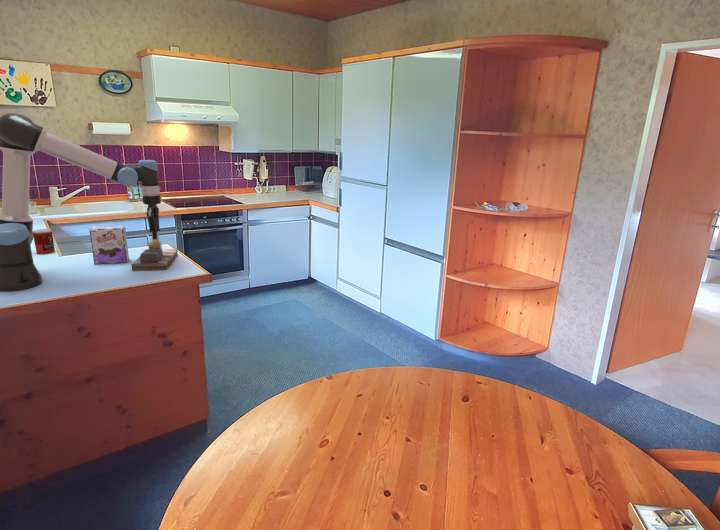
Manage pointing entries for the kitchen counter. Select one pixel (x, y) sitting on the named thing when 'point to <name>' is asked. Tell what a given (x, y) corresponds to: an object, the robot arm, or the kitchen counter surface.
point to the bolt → (155, 245)
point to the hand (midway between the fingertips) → (156, 245)
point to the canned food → (43, 241)
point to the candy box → (109, 245)
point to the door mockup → (154, 260)
